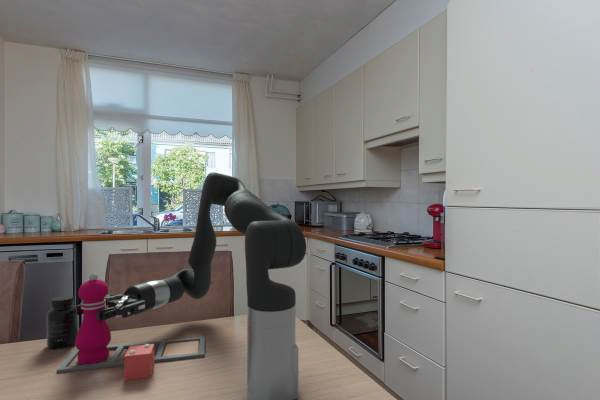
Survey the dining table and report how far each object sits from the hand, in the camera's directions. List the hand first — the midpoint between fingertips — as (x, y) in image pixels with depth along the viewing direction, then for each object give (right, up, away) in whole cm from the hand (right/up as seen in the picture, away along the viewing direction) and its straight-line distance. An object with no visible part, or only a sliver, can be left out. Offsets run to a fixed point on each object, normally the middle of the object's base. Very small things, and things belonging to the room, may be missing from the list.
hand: (86, 313), depth 79 cm
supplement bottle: (-12, -11, +9) cm, 19 cm away
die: (+15, -11, -5) cm, 19 cm away
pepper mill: (+1, -11, +1) cm, 11 cm away
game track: (+10, -11, +4) cm, 15 cm away
